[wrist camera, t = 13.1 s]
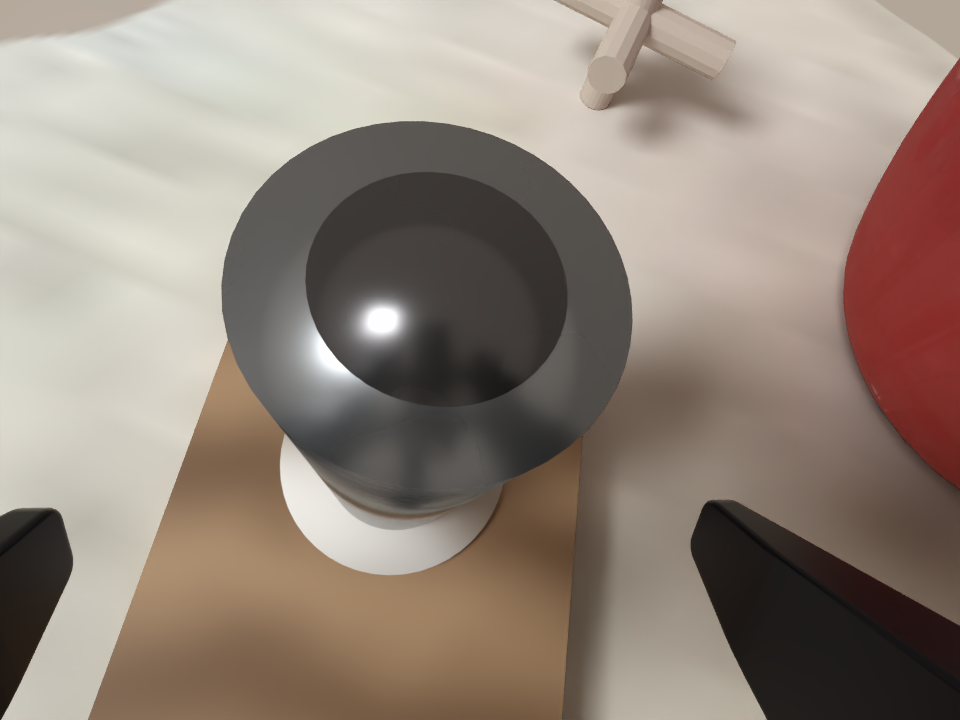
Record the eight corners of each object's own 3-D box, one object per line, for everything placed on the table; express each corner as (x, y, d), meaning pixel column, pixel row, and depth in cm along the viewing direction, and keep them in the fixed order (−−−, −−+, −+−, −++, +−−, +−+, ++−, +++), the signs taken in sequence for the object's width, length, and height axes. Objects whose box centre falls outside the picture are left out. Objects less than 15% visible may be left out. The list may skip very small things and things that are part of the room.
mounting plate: (532, 824, 17) (555, 864, 15) (91, 782, 15) (46, 820, 13) (573, 343, 24) (593, 323, 22) (269, 276, 22) (258, 247, 20)
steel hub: (420, 559, 17) (522, 583, 5) (296, 480, 17) (112, 324, 5) (491, 435, 19) (687, 245, 7) (380, 366, 19) (385, 61, 7)
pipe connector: (689, 83, 32) (817, -106, 23) (647, 195, 28) (781, 21, 19) (547, 12, 32) (617, -209, 22) (485, 114, 28) (539, -103, 18)
